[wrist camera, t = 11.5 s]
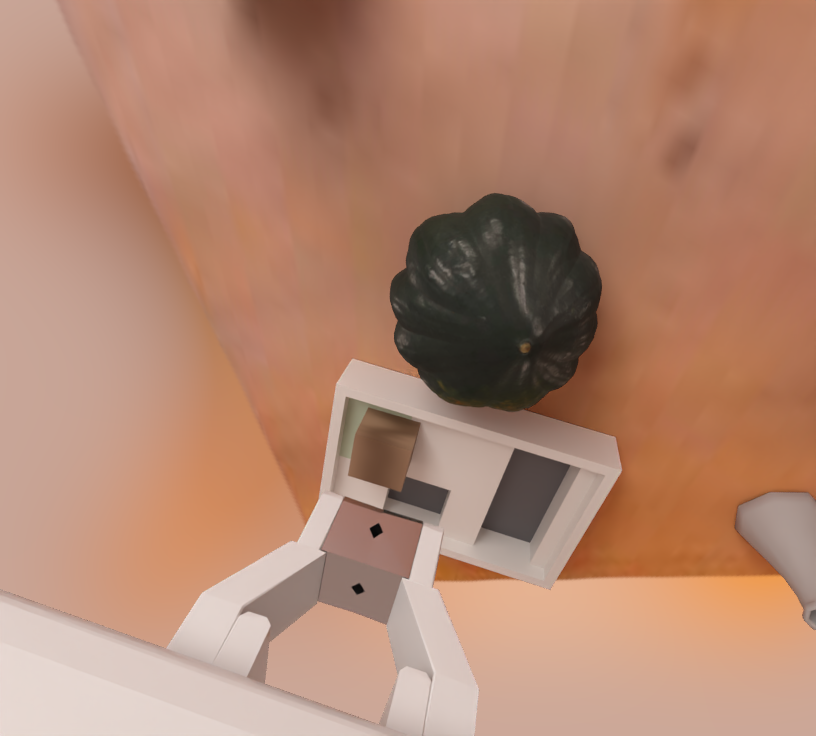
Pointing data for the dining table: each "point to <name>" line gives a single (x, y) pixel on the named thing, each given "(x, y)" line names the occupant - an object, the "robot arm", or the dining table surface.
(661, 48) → the dining table surface
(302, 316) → the dining table surface
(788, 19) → the dining table surface
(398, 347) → the squash
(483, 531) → the track
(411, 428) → the walnut block
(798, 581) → the flask
